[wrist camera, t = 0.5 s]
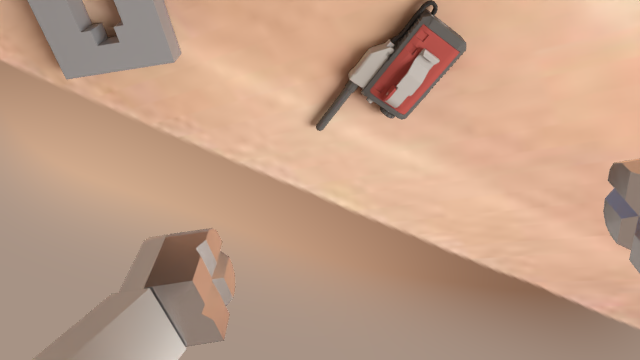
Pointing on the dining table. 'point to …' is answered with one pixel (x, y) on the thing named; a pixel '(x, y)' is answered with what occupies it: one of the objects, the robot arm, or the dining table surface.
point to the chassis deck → (93, 43)
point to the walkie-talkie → (403, 66)
